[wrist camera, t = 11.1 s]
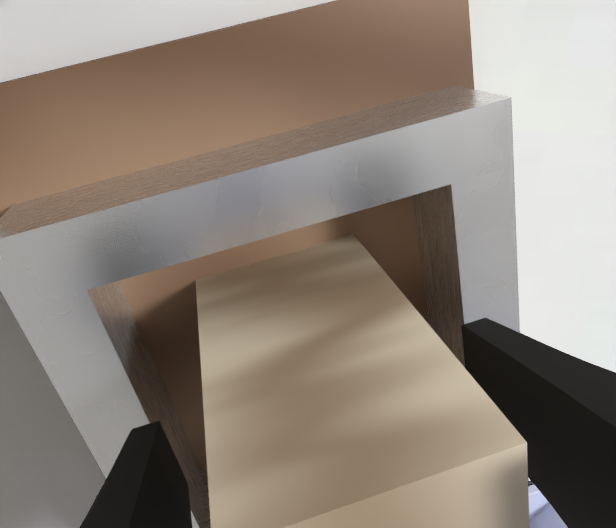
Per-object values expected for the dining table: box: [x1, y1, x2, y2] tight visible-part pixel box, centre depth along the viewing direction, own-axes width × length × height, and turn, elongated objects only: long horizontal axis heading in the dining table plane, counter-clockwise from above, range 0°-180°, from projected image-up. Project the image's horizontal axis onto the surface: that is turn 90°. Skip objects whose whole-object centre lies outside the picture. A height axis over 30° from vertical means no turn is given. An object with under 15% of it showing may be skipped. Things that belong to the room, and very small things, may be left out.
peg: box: [196, 234, 529, 528], centre depth 11 cm, size 4×4×8 cm
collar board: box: [0, 0, 520, 528], centre depth 14 cm, size 16×12×3 cm
